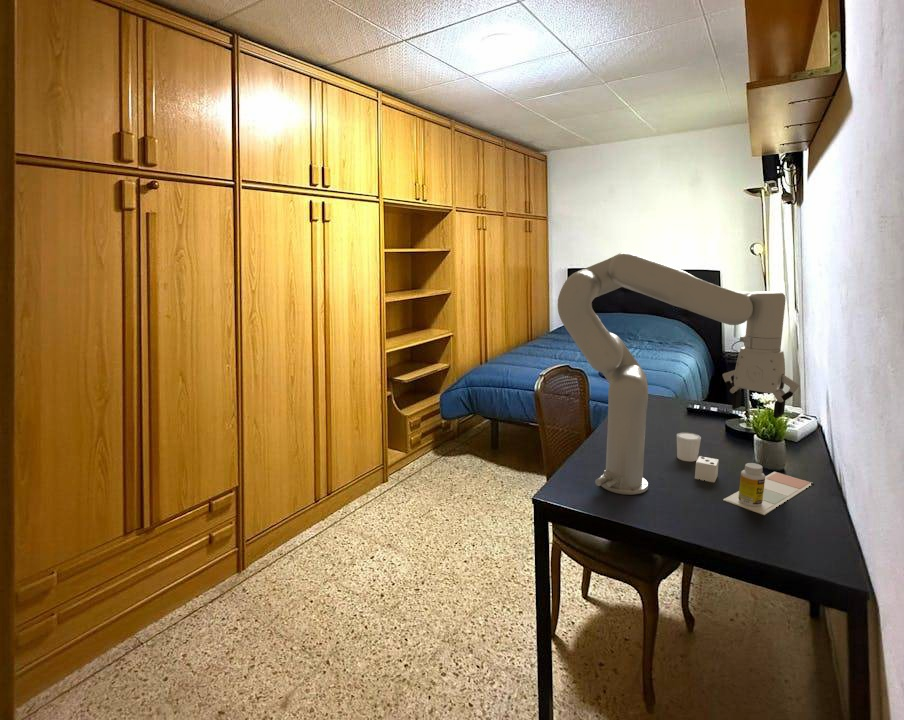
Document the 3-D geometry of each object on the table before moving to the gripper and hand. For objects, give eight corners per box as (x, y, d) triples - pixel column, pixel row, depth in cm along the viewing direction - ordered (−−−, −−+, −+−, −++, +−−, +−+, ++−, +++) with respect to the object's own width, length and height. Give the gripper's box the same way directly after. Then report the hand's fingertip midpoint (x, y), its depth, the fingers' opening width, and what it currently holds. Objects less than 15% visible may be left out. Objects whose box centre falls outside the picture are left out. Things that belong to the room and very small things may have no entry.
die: (714, 482, 149) (716, 465, 148) (694, 478, 151) (696, 461, 150) (717, 476, 153) (718, 459, 152) (698, 472, 155) (699, 455, 154)
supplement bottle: (756, 509, 133) (760, 471, 131) (734, 501, 137) (738, 465, 135) (765, 502, 136) (769, 465, 134) (743, 495, 140) (747, 459, 138)
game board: (764, 515, 130) (764, 514, 130) (722, 500, 138) (723, 499, 138) (813, 483, 147) (813, 482, 147) (774, 472, 155) (774, 471, 155)
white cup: (702, 462, 162) (703, 440, 161) (677, 461, 163) (678, 439, 162) (696, 454, 169) (698, 432, 167) (672, 453, 170) (674, 431, 168)
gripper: (719, 341, 135) (713, 407, 139) (796, 350, 122) (788, 423, 125) (733, 337, 140) (728, 402, 143) (809, 346, 126) (801, 417, 130)
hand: (756, 412), depth 134 cm, fingers open, 9 cm apart
